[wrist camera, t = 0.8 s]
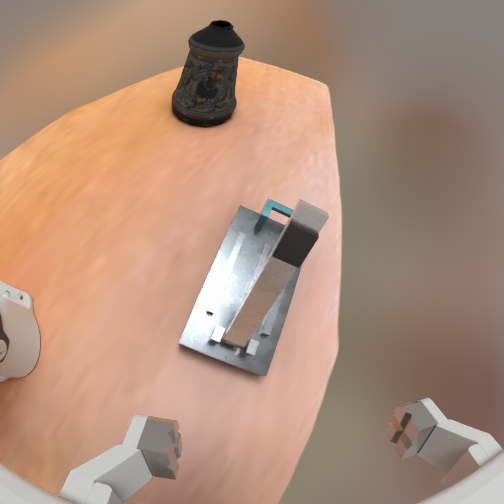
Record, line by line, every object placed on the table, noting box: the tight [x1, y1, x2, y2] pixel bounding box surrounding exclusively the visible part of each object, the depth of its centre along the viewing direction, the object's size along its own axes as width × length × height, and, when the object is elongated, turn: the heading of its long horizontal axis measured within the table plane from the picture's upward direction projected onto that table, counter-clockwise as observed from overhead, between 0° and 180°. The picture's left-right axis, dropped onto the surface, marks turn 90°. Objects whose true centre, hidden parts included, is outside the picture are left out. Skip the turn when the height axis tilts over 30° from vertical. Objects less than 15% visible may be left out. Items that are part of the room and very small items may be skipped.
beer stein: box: [172, 20, 245, 127], centre depth 52 cm, size 16×19×25 cm
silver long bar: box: [222, 199, 329, 349], centre depth 31 cm, size 3×23×2 cm
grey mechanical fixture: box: [179, 199, 302, 376], centre depth 44 cm, size 14×27×8 cm, turn 161°
